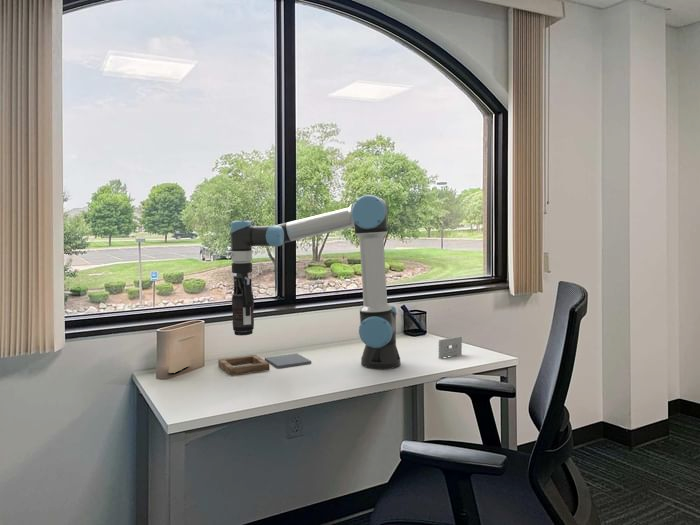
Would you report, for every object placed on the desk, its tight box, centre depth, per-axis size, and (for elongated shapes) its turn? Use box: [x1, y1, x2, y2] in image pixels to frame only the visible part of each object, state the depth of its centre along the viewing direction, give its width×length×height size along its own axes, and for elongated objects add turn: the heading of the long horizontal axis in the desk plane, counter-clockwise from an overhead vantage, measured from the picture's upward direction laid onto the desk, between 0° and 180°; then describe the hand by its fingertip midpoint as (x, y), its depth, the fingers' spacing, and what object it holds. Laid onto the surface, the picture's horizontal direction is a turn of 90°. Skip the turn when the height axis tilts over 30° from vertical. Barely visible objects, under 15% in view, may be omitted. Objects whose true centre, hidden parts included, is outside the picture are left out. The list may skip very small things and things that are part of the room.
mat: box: [264, 352, 312, 369], centre depth 220 cm, size 14×14×1 cm
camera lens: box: [231, 293, 255, 337], centre depth 209 cm, size 8×8×15 cm
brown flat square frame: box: [217, 354, 270, 376], centre depth 211 cm, size 15×15×2 cm
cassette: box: [438, 336, 463, 359], centre depth 228 cm, size 12×2×8 cm, turn 123°
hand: (243, 322), depth 210 cm, fingers closed on camera lens, 8 cm apart
